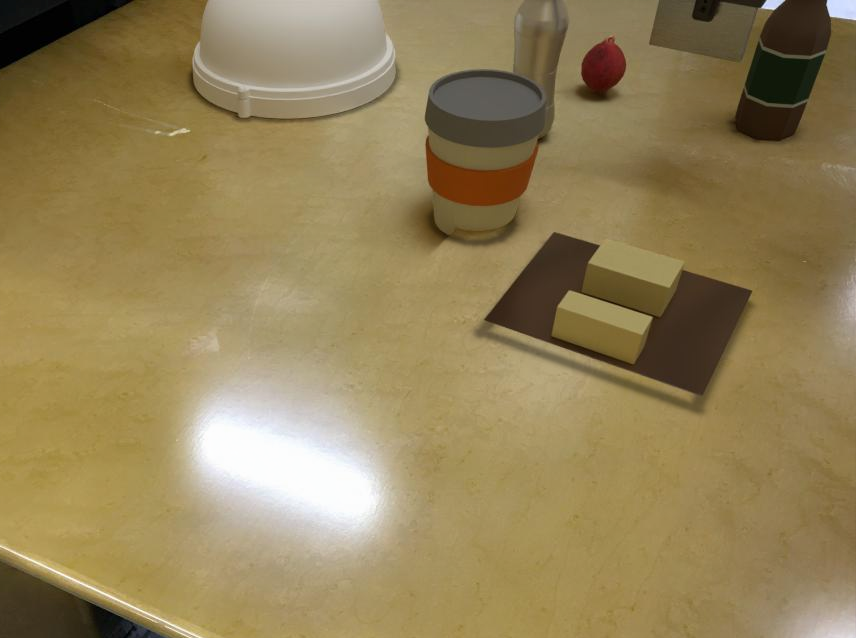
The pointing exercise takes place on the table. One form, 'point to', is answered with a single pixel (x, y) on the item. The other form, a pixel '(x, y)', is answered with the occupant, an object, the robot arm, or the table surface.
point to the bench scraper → (705, 28)
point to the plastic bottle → (540, 46)
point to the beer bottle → (784, 69)
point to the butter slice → (601, 326)
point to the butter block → (632, 277)
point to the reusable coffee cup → (481, 146)
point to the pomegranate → (603, 66)
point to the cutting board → (668, 335)
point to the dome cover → (292, 56)
